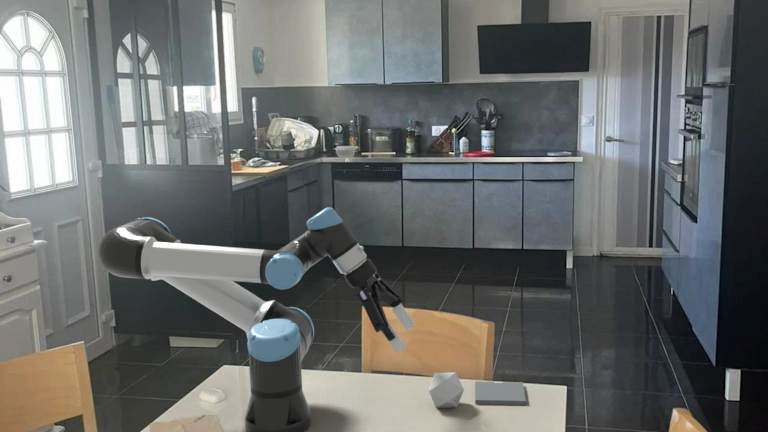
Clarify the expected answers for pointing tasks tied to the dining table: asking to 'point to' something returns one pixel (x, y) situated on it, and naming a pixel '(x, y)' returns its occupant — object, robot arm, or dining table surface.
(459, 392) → the die
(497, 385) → the slate board
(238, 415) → the dining table surface
